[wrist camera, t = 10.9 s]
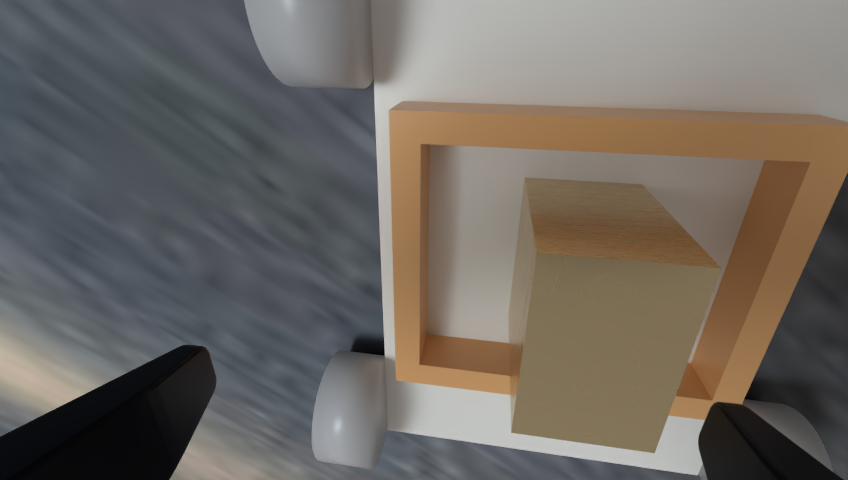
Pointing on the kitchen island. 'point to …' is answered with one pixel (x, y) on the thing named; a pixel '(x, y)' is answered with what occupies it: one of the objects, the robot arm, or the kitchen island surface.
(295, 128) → the kitchen island surface
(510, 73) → the frame
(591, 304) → the wood-topped khaki block
